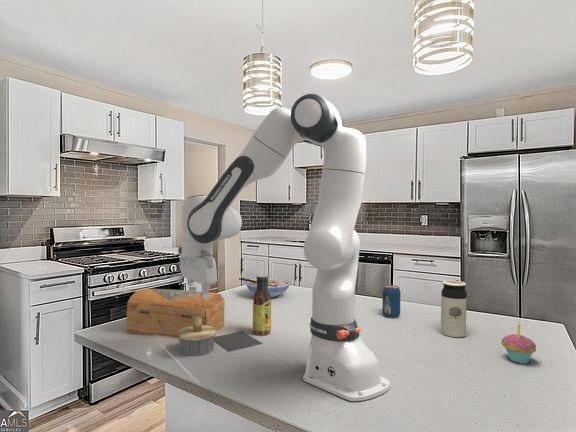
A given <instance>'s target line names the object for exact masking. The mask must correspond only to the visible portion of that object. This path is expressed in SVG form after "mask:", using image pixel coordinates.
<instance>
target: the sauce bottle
mask: <svg viewBox="0 0 576 432" xmlns="http://www.w3.org/2000/svg"><path fill="white" fill-rule="evenodd" d="M268 277H269V276H268V275H266V274H265V275H264V274H260V275H257V276H256V278H257V290H256V292H255V293H254V294H253V301H252V333H253V335H255V336H258V337H259V336H260V337H264V336H269V335H270V334H271V329H272V298H271V297H270V294H269V291H268Z"/></svg>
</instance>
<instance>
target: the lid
mask: <svg viewBox="0 0 576 432" xmlns="http://www.w3.org/2000/svg"><path fill="white" fill-rule="evenodd" d="M216 334H217V332H216V329H215V328H214V327H212V326H208V325H202V317H200V316H196V317H193V326H188V327H185V328H182V329H180V330H179V332H178V337H177V338H178V339H179V338H181V339H183V340H189V341H198V340H205V339H208V338H211V337H213V336H214V337H216Z"/></svg>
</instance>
